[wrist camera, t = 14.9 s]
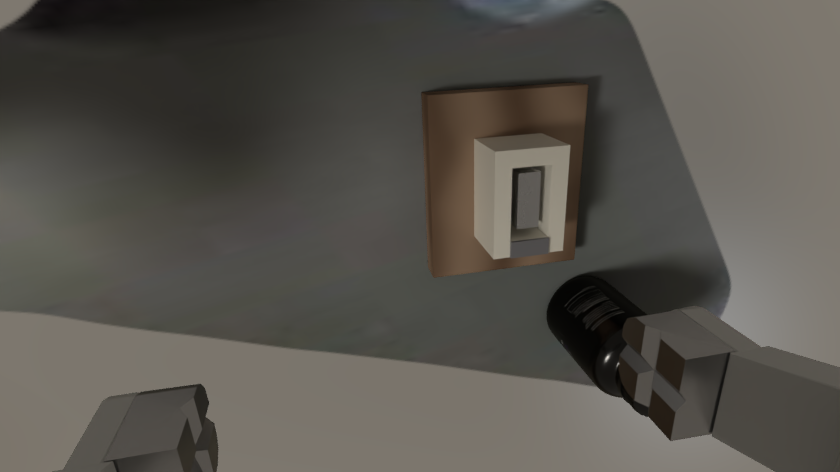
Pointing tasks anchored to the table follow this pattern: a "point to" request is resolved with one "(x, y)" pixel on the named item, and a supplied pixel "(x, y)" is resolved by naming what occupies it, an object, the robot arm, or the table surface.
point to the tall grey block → (525, 197)
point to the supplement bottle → (594, 330)
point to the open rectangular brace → (496, 194)
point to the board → (454, 164)
